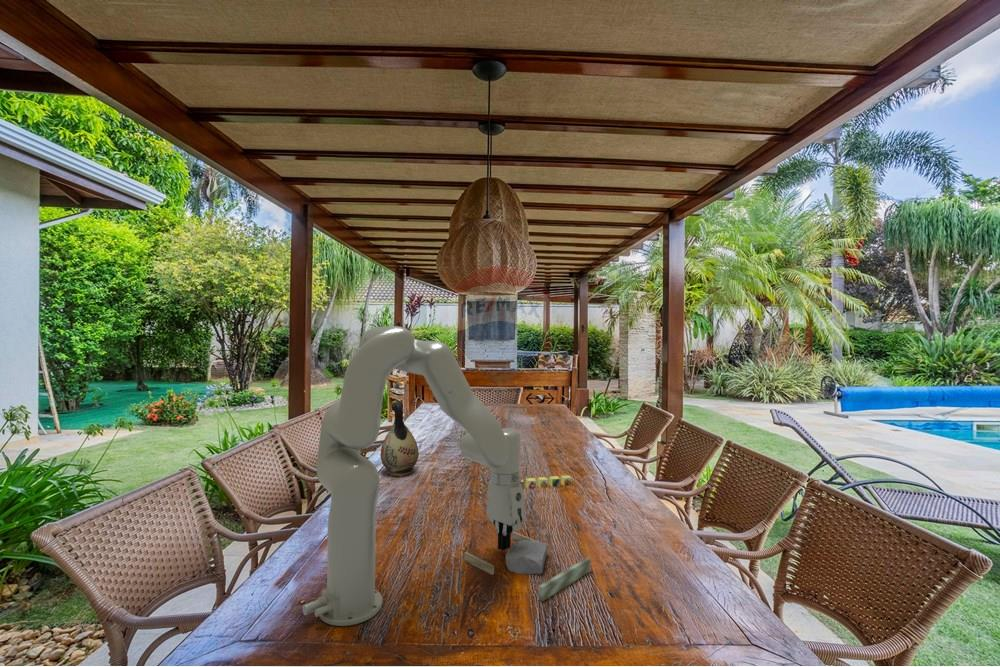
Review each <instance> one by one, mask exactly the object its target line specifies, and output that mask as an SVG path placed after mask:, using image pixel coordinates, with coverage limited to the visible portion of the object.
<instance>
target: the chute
mask: <svg viewBox="0 0 1000 667" xmlns="http://www.w3.org/2000/svg"><path fill="white" fill-rule="evenodd" d="M511 540H513V541H514V542H518V541H523V540H531V541H536V542H539V540H536V539H533V538H531V537H528V536H526V535H523V534H521V533H519V532H517V531H513V532H512V533H511ZM463 554H464V556H463V561H464V562H466V563H468V564H470V565H472V566H474V567H476V568H478V569H479V570H481V571H483V572H485V573H487V574H489V575H490V576H493V575H494V574H495V565H493V564H492V563H489V562H488V561H486V560H484V559H481V557H478V556H475V555H474V554H473V553H470V552H467V551H465V552H463ZM590 572H591V558H590V557H585V558H583V559H582V560H580V561H579V562H577V563H575V564H574V565H572V566H570V567H568V568H566V569H564V570H563V571H562V572H560V573H558V574H557V575H555V576H553V577H551V578H550V579H548V580H547V581H544V583H541V584H540V585H539V586H538V601H541V602H544V601H546V600H547V599H549V598H551V597H552V596H554V595H556V594H557V593H559V592H560V591H562V590H563V589H565V588H566V587H568V586H569V585H571V584H572V583H574V582H576V581H578V580H579V579H581V577H584V576H586V574H589V573H590Z"/></svg>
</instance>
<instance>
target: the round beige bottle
mask: <svg viewBox="0 0 1000 667" xmlns="http://www.w3.org/2000/svg"><path fill="white" fill-rule="evenodd" d="M403 408H404V404H403V402H400V401H396V402H394V403H392V405H391V410H392V412H393V411H394V420H393V421H394V422H393V424H392V426H391V427H390V429H389V430H388V432H387V434H386V436H385V437H384V439H383V441H382V444H381V448H380V455H379V456H380V461H381V464H382V465H383V466H384V467H385V469H386V470H387V471H388V473H389V475H390V476H394V477H402V476H406V475H409V474H412V472H413V468H414V467H415V466H416V464H417V462H418V460H419V453H420V452H419V446H418V443H417V440H416V439H415V436H414V435H413V434H412V432H411V430H409V427H408V426H407V425H406V424H405V421H404V412H403V411H404V410H403Z"/></svg>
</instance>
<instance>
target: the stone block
mask: <svg viewBox="0 0 1000 667" xmlns="http://www.w3.org/2000/svg"><path fill="white" fill-rule="evenodd" d="M536 541H537V540H536ZM536 541H531V540H523V541H518V542H517V541H514V542H513V543H512V544H511V546H510V548H508V549H507V552H506V554H505V565H506V568H507V570H508V571H509V572H512V573H515V574H524V575H542V574H543V571H544V567H545V561H546V558H547V553H548V543H547V542H540V541H538V542H536Z"/></svg>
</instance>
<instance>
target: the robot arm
mask: <svg viewBox="0 0 1000 667" xmlns="http://www.w3.org/2000/svg"><path fill="white" fill-rule="evenodd" d="M394 370H397V371H400V372H404V373H409V374H413V375H419V376H423V377H424V379H425V381H426V383H427V385H428V387H429V388H430V390H431V392H432V394H433V396H434V398H435V400H436V401H437V404H438V406H439V407H440V409H441V410H442V412H444V414H445V415H446V416H447V417H449V418H450V419H452V420H453V421H454V422H456V423H457V424H459V425H460V426H461V427H462V428H463V429H465V430H466V433H465V434H463V436H461V439H460V440H459V446H458V447H459V451H460V453H461V455H462V456H463V457H464V458H466V459H468V460H470V461H472V462H475V463H476V464H480V465H481V466H482V465H483V466H485V467H487V468H490V478H489V479H490V480H489V481H488V486H487V492H486V493H487V494H486V505H485V506H486V515H487V517H488V520H489V521H490V522H491V523H493V525H494V527H495V533H497V549H498V550H501V551H505V550H509V548H510V547H511V546H512V544H511V542H512V541H511V540H512V532H513V531H514V532H519V531H520V530H522V523H524V522H525V520H526V518H525V517H526V509H525V508H526V507H525V506H526V505H525V504H526V503H525V495H524V489H523V488H522V484H520V482H521V480H523V478H522V477H521V476H520V461H521V459H520V457H521V456H520V455H521V454H520V449H521V448H520V446H521V444H520V443H521V442H520V441H521V440H520V439H521V438H520V433H519V431H517V429H513V428H502V427H501V425H500V423H499V421H498V420H497V419H496V417H495V416H494V414H493V413H492V412H491V411H490V410H489V409H488V407H487V406H485V404H484V403H483V402H482V400H481V399H480V398H478V396H477V395H476V394H475V393H474V392H473V389H471V386H470V384H469V382H468V381H467V378H466V376H465V375H464V373H463V370H462V368H461V366H460V364H459V363H458V360H457V358H456V356H455V354H454V353H453V351H452V349H451V348H450V347H449V346H448V344H446V343H444V342H441V341H438V340H420V339H416V338H415V336H414V334H413V333H412V332H411V331H410V330H409V329H407V328H406V327H403V326H397V325H387V326H375V327H372V328H370V329H367V330H366V331H365V332H364V333H363V335H362V336H361V338H360V340H359V349H358V350H357V351H356V352H355V353H354V354H353V356H352V358H351V359H350V361H349V362H348V364H347V367H346V370H345V372H344V377H343V383H342V389H341V394H340V400H337V401H335V402H333V403H332V404H331V405H330V406H329V407H328V408H327V410H326V411H325V413H324V415H323V417H322V421H321V427H320V431H319V432H320V434H319V440H318V441H319V442H318V450H317V458H316V459H317V460H316V476H317V479H318V481H319V483H320V484H321V485H322V486H323V488H324V489H326V491H328V493H329V494H330V499H331V500H330V506H329V510H328V519H327V554H326V555H327V556H326V557H327V566H326V567H327V571H326V572H327V575H326V588H324V589H322V591H321V596H318V597H317V599H316V600H314V601H310V602H307V603H305V604H303V605H302V614H303V615H304V616H307V615H310V614H312V613H314V616H315V617H316V618H318V617H319V619H320V620H321V621H322V622H324V623H326V624H328V625H331V626H335V627H336V626H337V627H346V626H354V625H358V624H361V623H363V622H366V621H368V620H370V619H371V618H373V617H374V616H376V615H377V614H378V612H380V611H381V608H382V606H383V596H382V594H381V593H380V592H379V591H378V590H377V589H376V530H377V528H376V525H377V524H376V520H377V506H378V505H377V504H378V499H379V493H380V486H381V484H380V483H381V479H380V474H379V471H378V469H377V467H376V466H375V464H374V463H373V462H372V461H371V460H369V459H368V458H367V457H365V456H363V455H362V454H361V450H366V449H368V448H370V447H372V446H373V445H374V443H375V442H376V441H377V439H378V437H379V434H380V429H381V420H382V410H383V399H384V394H385V386H386V384H387V380H388V378H389V376H390V375H391V373H392V372H393V371H394Z"/></svg>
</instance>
